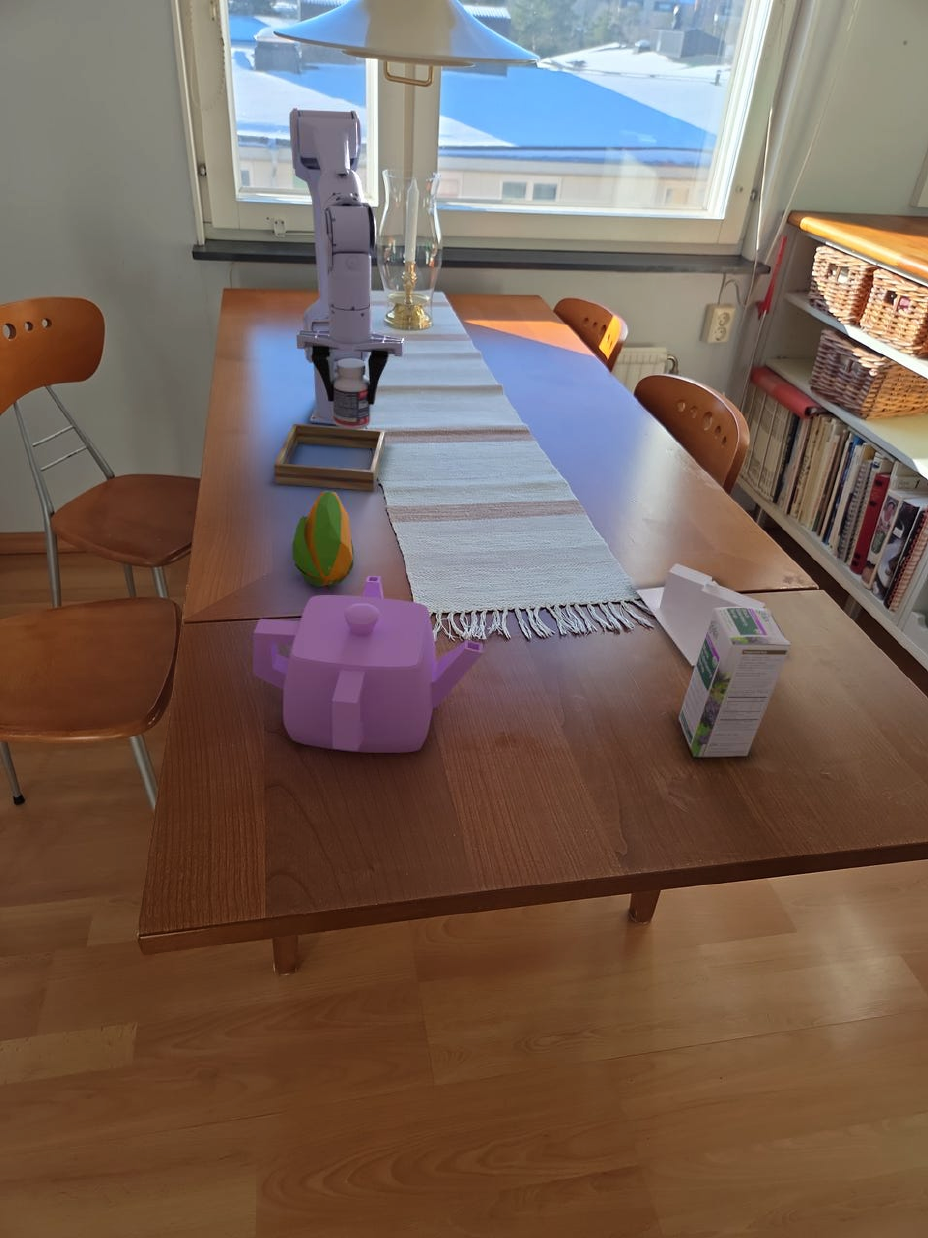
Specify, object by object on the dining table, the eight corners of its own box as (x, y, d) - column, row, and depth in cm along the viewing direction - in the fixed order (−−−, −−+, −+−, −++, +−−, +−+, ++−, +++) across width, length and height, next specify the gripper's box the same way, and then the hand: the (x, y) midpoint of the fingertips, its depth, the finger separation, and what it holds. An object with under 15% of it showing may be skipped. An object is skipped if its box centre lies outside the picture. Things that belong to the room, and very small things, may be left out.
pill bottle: (363, 432, 121) (363, 372, 115) (329, 427, 121) (326, 367, 116) (374, 418, 125) (374, 359, 119) (340, 413, 126) (339, 354, 120)
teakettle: (245, 701, 85) (232, 602, 78) (377, 636, 95) (377, 542, 87) (346, 801, 76) (343, 700, 68) (482, 718, 85) (492, 621, 78)
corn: (289, 547, 94) (297, 464, 110) (289, 602, 99) (296, 515, 114) (356, 550, 95) (354, 468, 111) (353, 604, 100) (351, 518, 116)
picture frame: (294, 441, 133) (293, 423, 131) (384, 447, 133) (385, 430, 131) (275, 483, 121) (273, 465, 120) (373, 491, 121) (373, 472, 120)
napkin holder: (780, 653, 97) (794, 613, 94) (692, 666, 94) (704, 626, 91) (713, 580, 108) (725, 542, 105) (634, 590, 105) (642, 551, 102)
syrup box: (676, 718, 87) (709, 605, 78) (731, 717, 88) (770, 605, 79) (692, 758, 83) (730, 643, 74) (750, 758, 83) (794, 643, 75)
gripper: (289, 308, 110) (295, 407, 118) (400, 317, 110) (399, 415, 118) (300, 292, 115) (305, 388, 123) (406, 300, 115) (404, 395, 124)
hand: (351, 400), depth 121 cm, fingers closed on pill bottle, 5 cm apart
